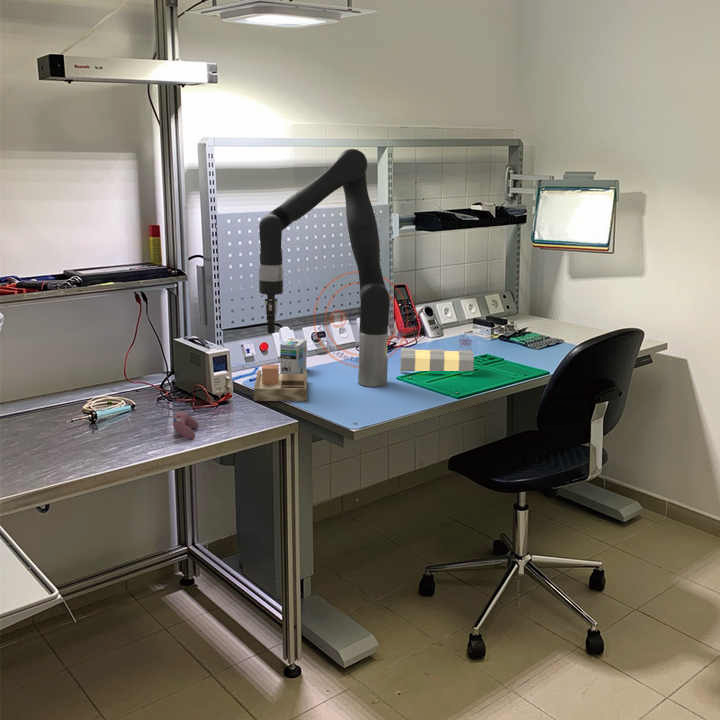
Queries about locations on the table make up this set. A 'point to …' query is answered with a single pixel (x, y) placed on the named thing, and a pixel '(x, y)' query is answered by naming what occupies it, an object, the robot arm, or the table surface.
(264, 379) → the block
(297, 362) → the light bulb box
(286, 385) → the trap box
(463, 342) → the gray yellow striped block
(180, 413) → the video game controller
